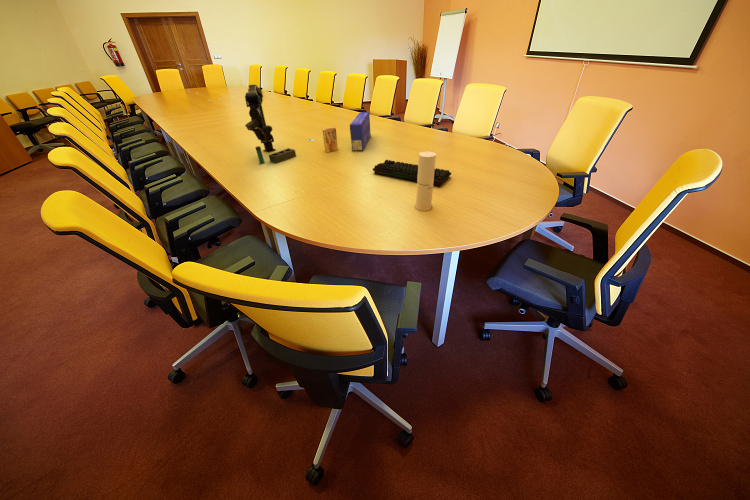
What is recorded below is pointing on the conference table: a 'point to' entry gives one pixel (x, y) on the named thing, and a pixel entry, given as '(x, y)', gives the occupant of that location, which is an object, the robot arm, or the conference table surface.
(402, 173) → the keyboard
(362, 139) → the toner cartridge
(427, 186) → the cylindrical container
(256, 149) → the capped tube
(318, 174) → the conference table surface
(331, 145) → the candy box
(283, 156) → the organiser
